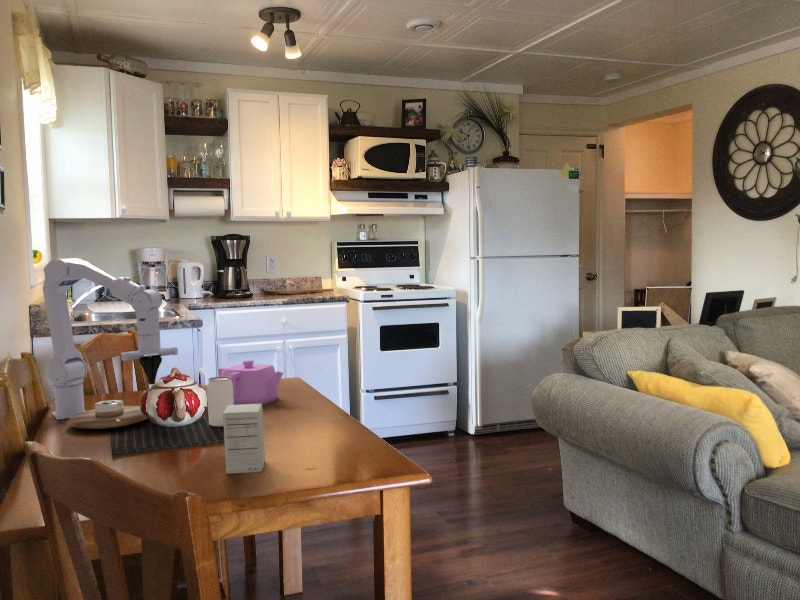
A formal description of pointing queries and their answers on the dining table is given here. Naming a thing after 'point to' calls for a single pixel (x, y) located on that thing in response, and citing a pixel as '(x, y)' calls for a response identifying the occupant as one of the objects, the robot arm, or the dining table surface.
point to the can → (219, 399)
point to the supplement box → (244, 438)
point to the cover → (109, 409)
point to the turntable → (107, 419)
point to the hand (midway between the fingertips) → (151, 383)
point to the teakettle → (253, 382)
